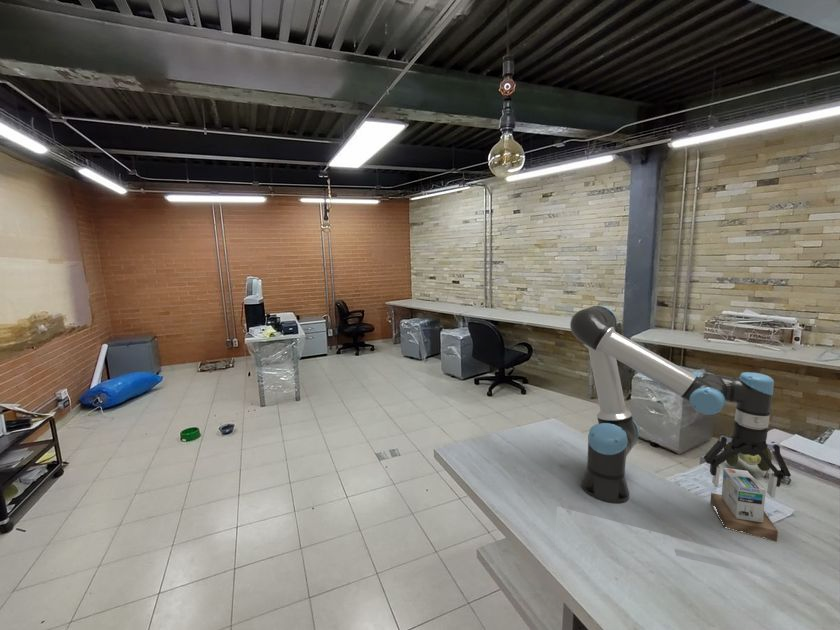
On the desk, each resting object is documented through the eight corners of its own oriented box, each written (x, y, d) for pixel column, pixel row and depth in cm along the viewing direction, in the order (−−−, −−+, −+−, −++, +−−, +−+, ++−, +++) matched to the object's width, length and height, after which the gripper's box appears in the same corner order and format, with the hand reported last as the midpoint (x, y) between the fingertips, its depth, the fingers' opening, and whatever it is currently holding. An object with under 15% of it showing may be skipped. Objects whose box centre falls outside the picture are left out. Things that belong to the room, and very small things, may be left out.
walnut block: (724, 535, 111) (725, 519, 110) (709, 506, 124) (711, 493, 123) (776, 546, 106) (777, 530, 106) (755, 515, 119) (757, 501, 118)
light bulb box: (763, 523, 108) (767, 489, 107) (735, 519, 110) (738, 486, 109) (745, 501, 118) (748, 469, 117) (720, 497, 120) (722, 466, 119)
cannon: (710, 443, 165) (712, 419, 164) (743, 447, 161) (745, 422, 159) (733, 472, 142) (736, 445, 141) (772, 478, 138) (776, 450, 136)
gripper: (703, 422, 112) (696, 487, 115) (813, 437, 102) (802, 507, 105) (696, 413, 119) (690, 474, 122) (799, 426, 109) (788, 492, 112)
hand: (742, 489), depth 114 cm, fingers open, 13 cm apart
